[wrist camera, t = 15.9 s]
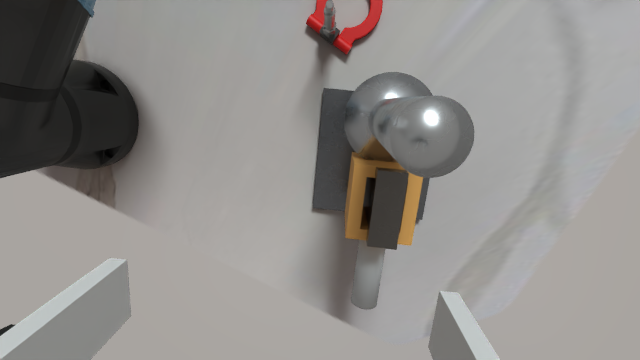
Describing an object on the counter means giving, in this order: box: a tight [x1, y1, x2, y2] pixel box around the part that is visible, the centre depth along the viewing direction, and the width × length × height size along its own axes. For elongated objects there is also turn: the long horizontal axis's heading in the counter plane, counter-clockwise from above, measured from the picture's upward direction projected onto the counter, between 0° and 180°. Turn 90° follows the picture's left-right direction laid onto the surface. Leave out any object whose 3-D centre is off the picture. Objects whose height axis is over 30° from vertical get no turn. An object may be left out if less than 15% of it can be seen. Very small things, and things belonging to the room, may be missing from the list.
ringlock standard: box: [313, 72, 474, 220], centre depth 33 cm, size 16×19×27 cm
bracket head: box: [345, 152, 423, 309], centre depth 39 cm, size 7×18×8 cm, turn 174°
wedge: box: [363, 167, 409, 250], centre depth 39 cm, size 3×8×14 cm, turn 174°
